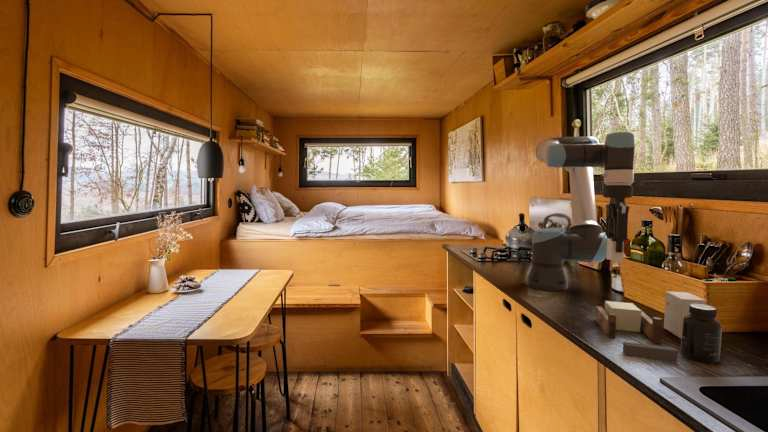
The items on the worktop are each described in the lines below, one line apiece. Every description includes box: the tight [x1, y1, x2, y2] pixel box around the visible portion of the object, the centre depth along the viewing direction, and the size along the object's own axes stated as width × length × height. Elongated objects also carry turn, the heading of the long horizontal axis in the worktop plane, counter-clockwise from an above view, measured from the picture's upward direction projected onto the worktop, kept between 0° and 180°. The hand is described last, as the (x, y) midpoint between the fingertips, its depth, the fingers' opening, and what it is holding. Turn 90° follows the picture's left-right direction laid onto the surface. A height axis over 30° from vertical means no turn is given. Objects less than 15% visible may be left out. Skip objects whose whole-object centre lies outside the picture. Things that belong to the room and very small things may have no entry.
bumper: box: [622, 341, 679, 363], centre depth 84 cm, size 2×10×2 cm, turn 72°
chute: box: [594, 305, 663, 344], centre depth 100 cm, size 14×12×6 cm
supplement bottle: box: [680, 303, 723, 365], centre depth 84 cm, size 7×7×12 cm
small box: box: [663, 290, 707, 339], centre depth 98 cm, size 8×6×10 cm
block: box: [604, 300, 642, 333], centre depth 104 cm, size 7×7×6 cm
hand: (614, 261), depth 112 cm, fingers open, 5 cm apart
